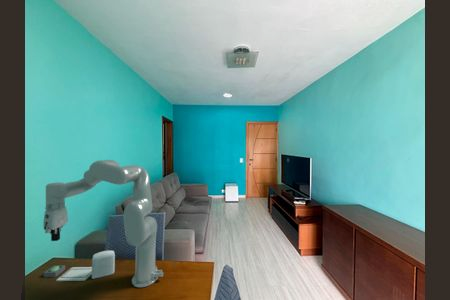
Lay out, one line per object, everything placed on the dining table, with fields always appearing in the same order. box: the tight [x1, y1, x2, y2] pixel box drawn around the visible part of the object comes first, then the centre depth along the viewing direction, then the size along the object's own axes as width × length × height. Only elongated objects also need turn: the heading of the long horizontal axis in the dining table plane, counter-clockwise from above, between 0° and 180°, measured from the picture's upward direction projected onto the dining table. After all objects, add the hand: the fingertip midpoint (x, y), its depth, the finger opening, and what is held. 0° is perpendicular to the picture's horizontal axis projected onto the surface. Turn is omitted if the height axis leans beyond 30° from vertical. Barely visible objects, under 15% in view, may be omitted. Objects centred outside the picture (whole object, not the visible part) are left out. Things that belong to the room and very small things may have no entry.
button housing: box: [43, 264, 66, 278], centre depth 98 cm, size 6×6×2 cm
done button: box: [49, 266, 59, 272], centre depth 98 cm, size 4×4×2 cm
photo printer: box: [91, 250, 116, 280], centre depth 97 cm, size 10×4×12 cm, turn 116°
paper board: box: [56, 266, 92, 282], centre depth 97 cm, size 14×10×1 cm
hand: (55, 240), depth 98 cm, fingers closed
